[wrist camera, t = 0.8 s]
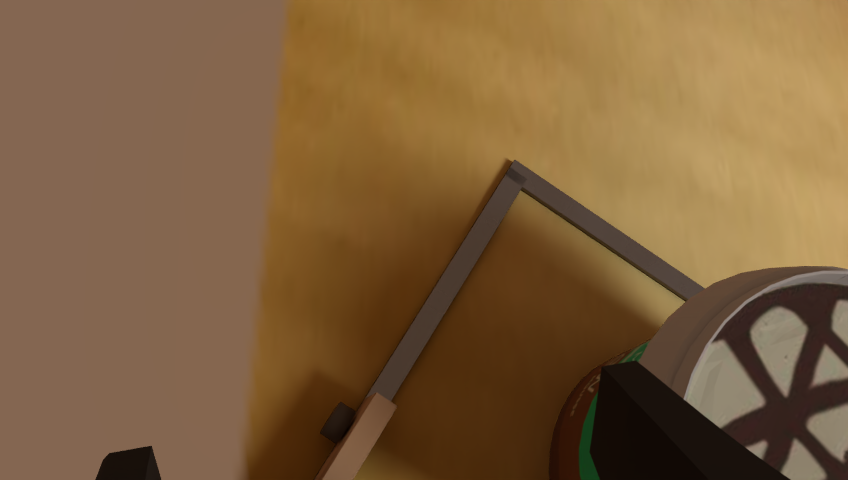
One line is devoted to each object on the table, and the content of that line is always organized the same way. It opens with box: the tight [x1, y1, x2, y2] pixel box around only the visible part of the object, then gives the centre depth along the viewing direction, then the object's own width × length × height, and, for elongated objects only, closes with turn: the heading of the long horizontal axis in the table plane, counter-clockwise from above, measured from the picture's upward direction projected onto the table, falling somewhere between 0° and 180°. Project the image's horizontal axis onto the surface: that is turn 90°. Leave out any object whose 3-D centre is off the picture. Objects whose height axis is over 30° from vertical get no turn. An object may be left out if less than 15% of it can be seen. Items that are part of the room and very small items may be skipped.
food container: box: [549, 266, 848, 480], centre depth 25 cm, size 12×6×10 cm, turn 133°
